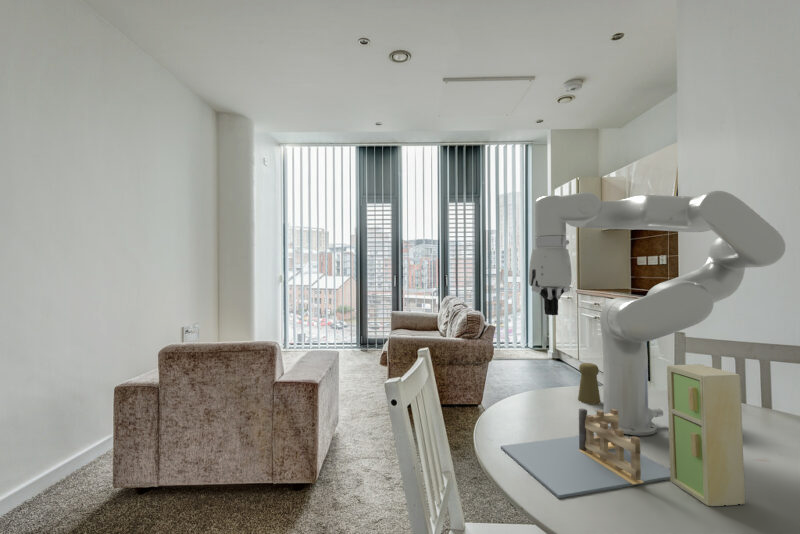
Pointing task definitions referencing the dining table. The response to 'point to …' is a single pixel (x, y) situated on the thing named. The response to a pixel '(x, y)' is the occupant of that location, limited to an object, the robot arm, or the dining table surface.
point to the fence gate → (620, 445)
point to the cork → (589, 384)
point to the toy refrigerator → (706, 433)
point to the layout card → (579, 467)
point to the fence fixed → (598, 418)
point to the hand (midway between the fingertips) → (551, 314)
